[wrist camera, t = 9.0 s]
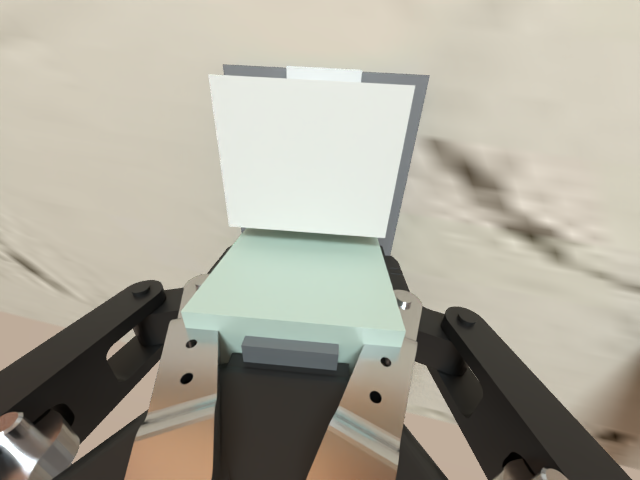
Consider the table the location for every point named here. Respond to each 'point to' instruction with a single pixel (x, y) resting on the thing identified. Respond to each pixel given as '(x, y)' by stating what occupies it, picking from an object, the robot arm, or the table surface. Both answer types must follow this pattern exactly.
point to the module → (298, 299)
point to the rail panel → (316, 147)
